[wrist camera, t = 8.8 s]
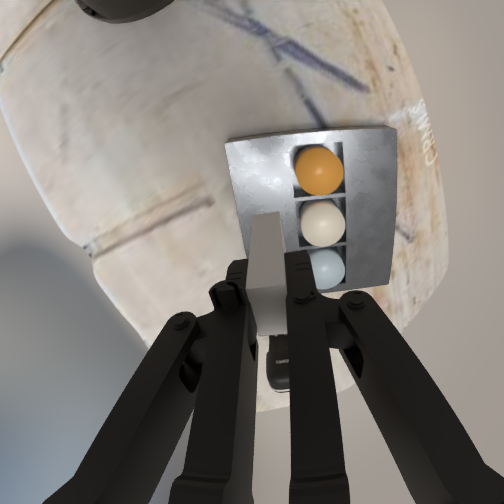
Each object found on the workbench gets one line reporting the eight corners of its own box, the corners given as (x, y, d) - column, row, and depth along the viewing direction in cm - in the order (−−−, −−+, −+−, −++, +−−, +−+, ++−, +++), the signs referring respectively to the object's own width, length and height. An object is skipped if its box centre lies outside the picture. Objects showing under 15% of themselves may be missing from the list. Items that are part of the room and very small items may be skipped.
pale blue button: (301, 245, 34) (304, 258, 32) (339, 240, 34) (345, 253, 31) (304, 277, 37) (306, 291, 34) (339, 272, 36) (344, 286, 34)
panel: (228, 139, 30) (224, 143, 27) (385, 125, 27) (396, 128, 25) (256, 286, 39) (255, 300, 37) (382, 271, 37) (388, 284, 35)
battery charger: (310, 311, 41) (318, 373, 32) (313, 328, 43) (321, 388, 33) (264, 319, 43) (262, 381, 33) (270, 335, 44) (269, 395, 35)
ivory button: (297, 198, 31) (299, 208, 29) (338, 194, 31) (344, 204, 28) (300, 236, 34) (303, 249, 31) (339, 232, 33) (345, 244, 31)
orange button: (291, 146, 28) (293, 151, 26) (335, 142, 28) (341, 147, 25) (296, 188, 31) (298, 197, 28) (338, 184, 30) (344, 193, 28)
